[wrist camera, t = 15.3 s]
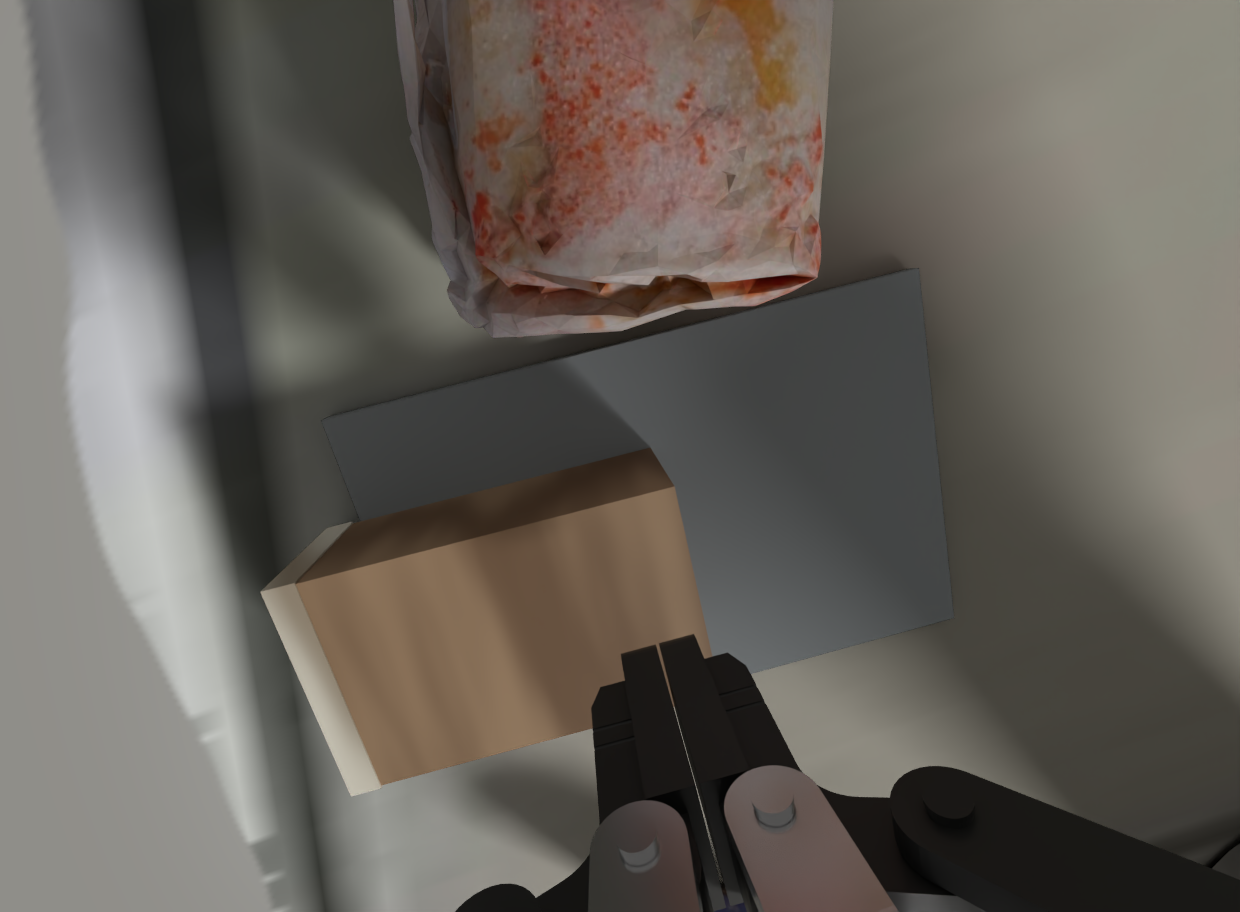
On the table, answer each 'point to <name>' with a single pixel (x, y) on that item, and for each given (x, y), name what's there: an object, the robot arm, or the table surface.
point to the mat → (721, 458)
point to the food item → (617, 154)
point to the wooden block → (484, 615)
